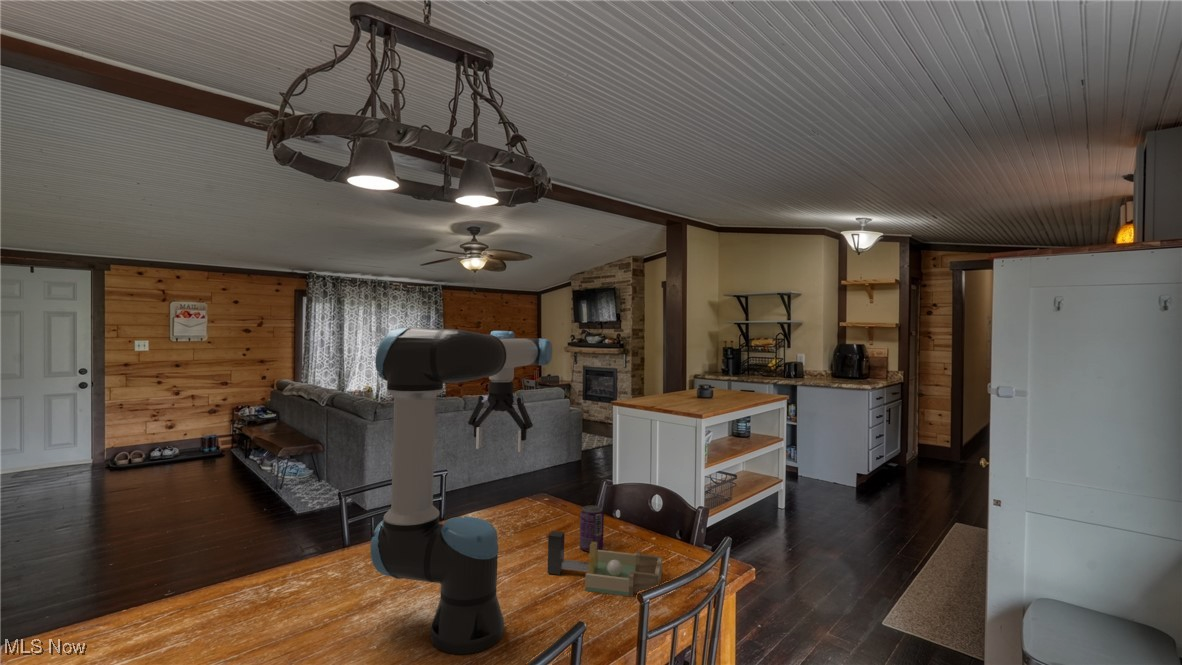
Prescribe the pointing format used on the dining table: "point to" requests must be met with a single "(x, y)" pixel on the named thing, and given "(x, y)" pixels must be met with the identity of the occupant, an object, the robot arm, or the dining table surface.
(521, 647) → the dining table surface
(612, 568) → the ball
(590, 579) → the pitch
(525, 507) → the dining table surface
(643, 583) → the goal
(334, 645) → the dining table surface
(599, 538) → the beverage can
